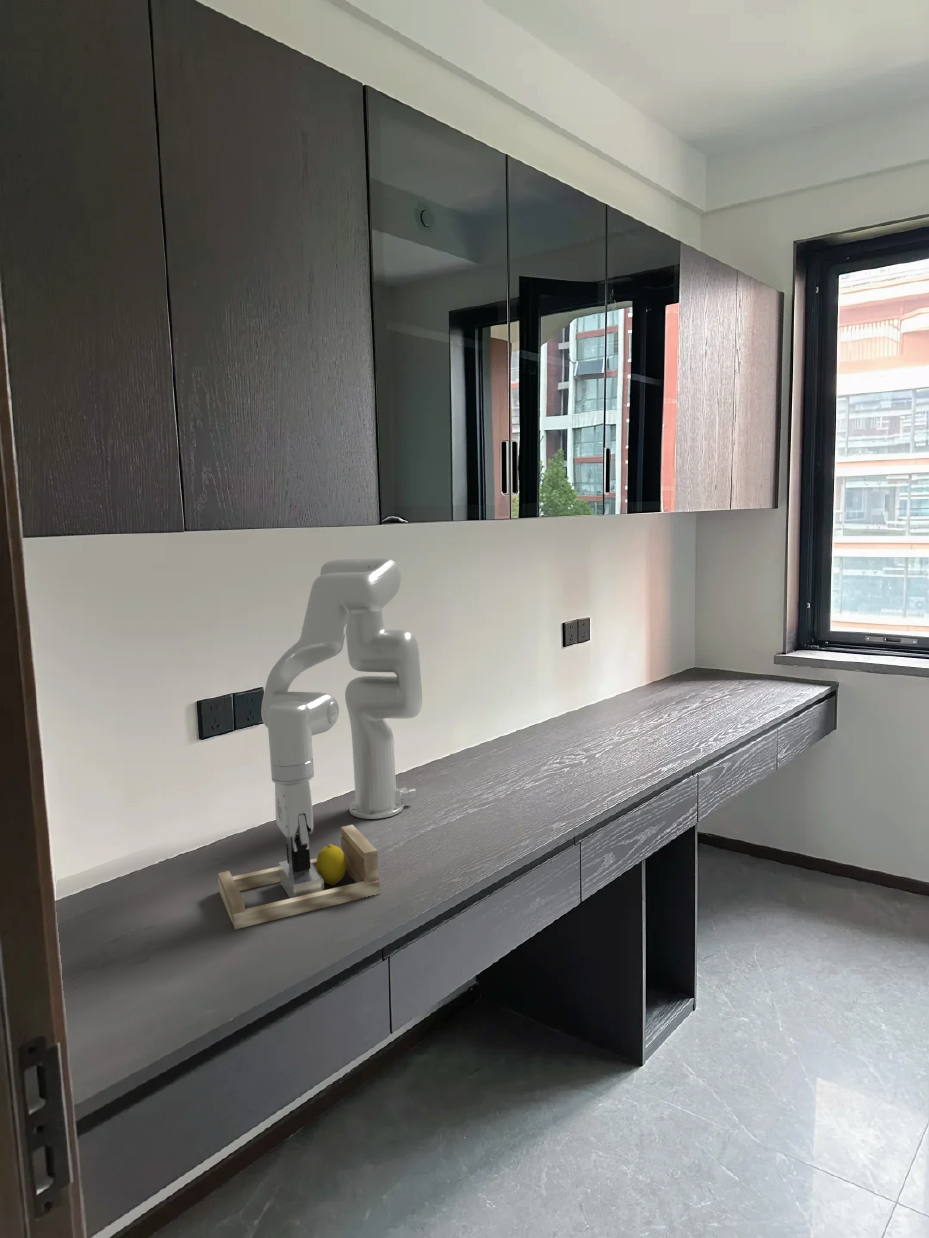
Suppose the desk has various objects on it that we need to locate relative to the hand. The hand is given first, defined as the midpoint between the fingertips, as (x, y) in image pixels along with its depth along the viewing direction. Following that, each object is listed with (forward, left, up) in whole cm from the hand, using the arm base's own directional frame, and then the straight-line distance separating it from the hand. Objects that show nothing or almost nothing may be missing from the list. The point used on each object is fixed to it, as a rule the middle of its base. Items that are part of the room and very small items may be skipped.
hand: (298, 865), depth 155 cm
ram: (0, 0, -5) cm, 5 cm away
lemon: (-6, 0, -5) cm, 8 cm away
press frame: (0, 0, -5) cm, 5 cm away
